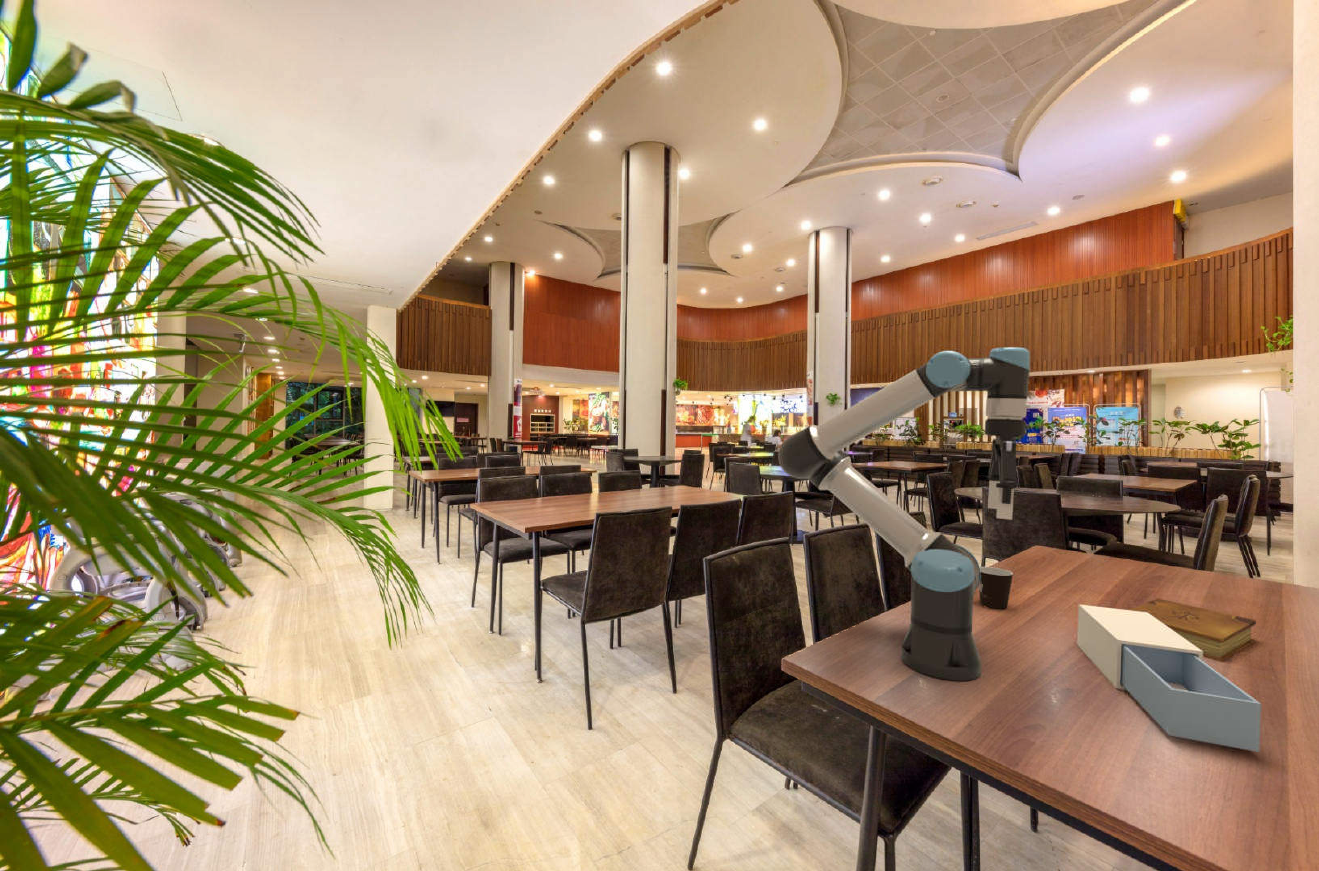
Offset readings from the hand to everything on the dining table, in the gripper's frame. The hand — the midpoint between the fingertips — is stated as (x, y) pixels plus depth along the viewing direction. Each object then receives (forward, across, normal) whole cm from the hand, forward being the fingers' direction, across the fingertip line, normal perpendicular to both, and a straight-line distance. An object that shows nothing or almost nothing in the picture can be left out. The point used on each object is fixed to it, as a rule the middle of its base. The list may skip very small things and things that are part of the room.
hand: (999, 513), depth 117 cm
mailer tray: (+31, -15, -27) cm, 43 cm away
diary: (+31, +32, -45) cm, 63 cm away
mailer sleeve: (+31, +3, -26) cm, 40 cm away
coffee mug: (+32, +38, -6) cm, 50 cm away
